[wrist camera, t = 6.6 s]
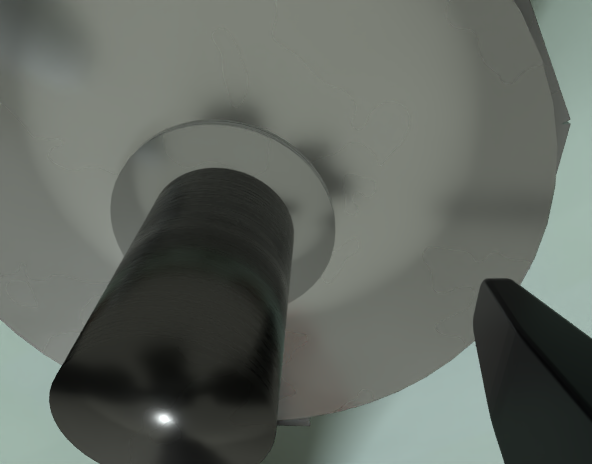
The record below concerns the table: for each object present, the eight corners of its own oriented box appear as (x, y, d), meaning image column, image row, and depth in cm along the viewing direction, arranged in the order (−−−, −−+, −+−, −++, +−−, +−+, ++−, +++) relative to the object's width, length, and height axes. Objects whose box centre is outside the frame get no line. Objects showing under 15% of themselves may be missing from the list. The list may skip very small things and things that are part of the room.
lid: (480, 400, 14) (555, 641, 9) (39, 391, 15) (-89, 611, 10) (637, -194, 7) (1231, -378, 2) (-221, -153, 8) (-1012, -233, 3)
